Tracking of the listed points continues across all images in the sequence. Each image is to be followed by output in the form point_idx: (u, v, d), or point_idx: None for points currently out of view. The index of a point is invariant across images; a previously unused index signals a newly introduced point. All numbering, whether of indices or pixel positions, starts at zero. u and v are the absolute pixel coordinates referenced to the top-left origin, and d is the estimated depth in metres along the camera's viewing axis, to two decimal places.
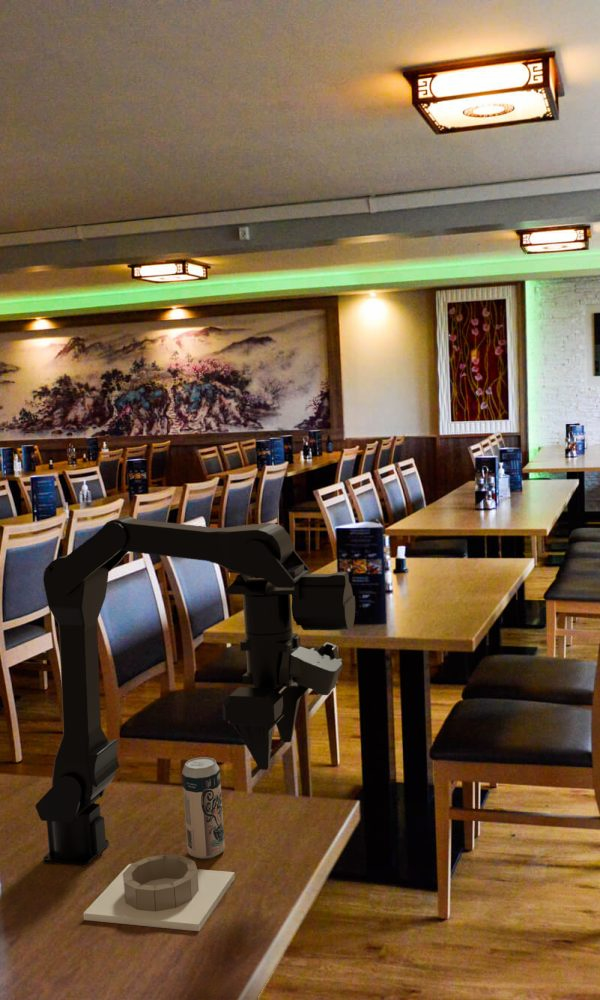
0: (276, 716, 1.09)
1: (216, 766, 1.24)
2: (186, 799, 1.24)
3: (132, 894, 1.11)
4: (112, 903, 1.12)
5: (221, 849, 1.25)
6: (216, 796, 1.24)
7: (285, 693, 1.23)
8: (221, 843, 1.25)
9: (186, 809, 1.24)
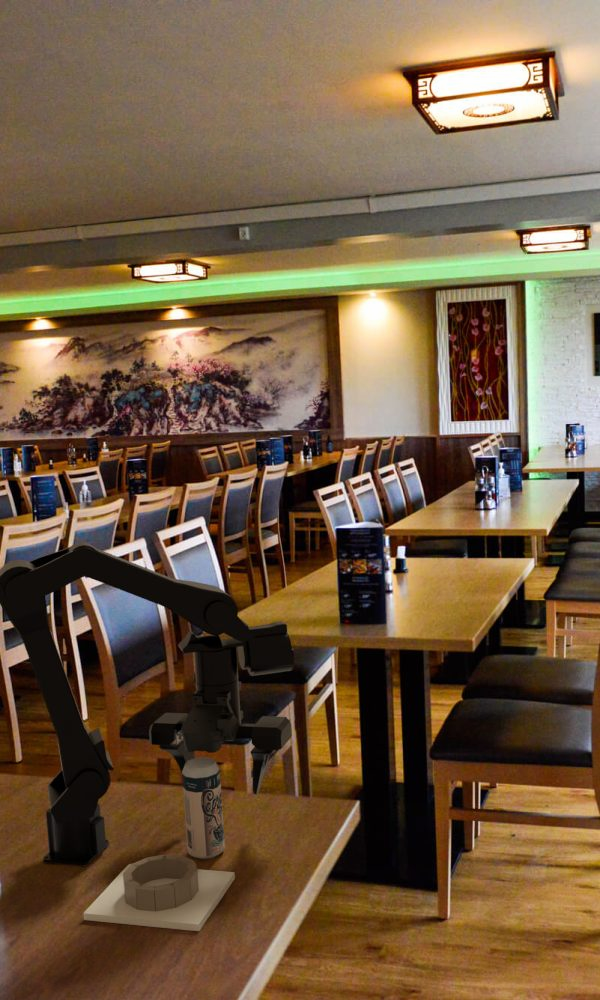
0: (156, 742, 1.31)
1: (216, 766, 1.24)
2: (186, 799, 1.24)
3: (132, 894, 1.11)
4: (112, 903, 1.12)
5: (221, 849, 1.25)
6: (216, 796, 1.24)
7: None
8: (221, 843, 1.25)
9: (186, 809, 1.24)
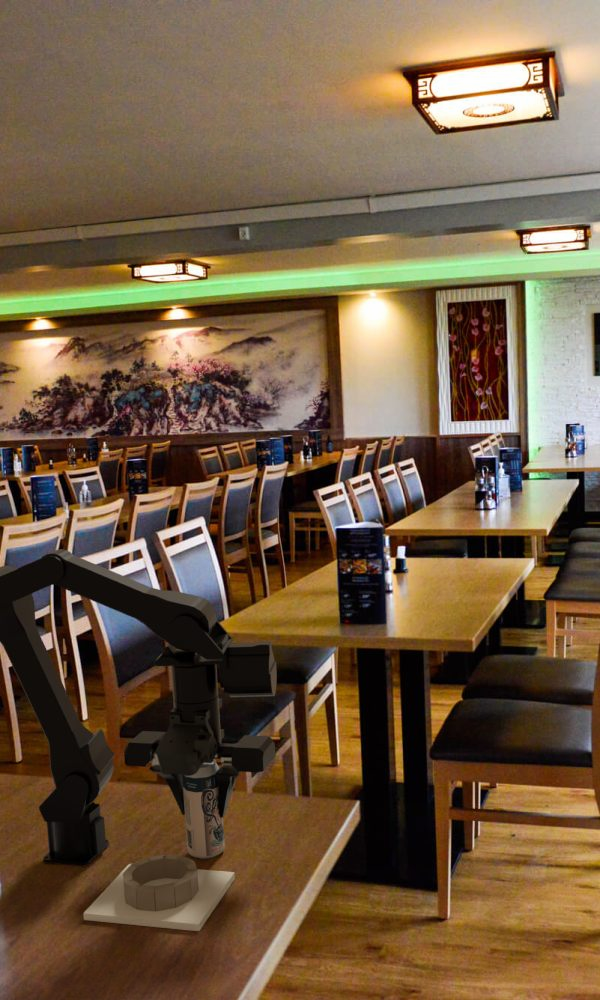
0: (131, 763, 1.24)
1: (216, 766, 1.24)
2: (186, 799, 1.24)
3: (132, 894, 1.11)
4: (112, 903, 1.12)
5: (221, 849, 1.25)
6: (216, 796, 1.24)
7: None
8: (221, 843, 1.25)
9: (186, 809, 1.24)
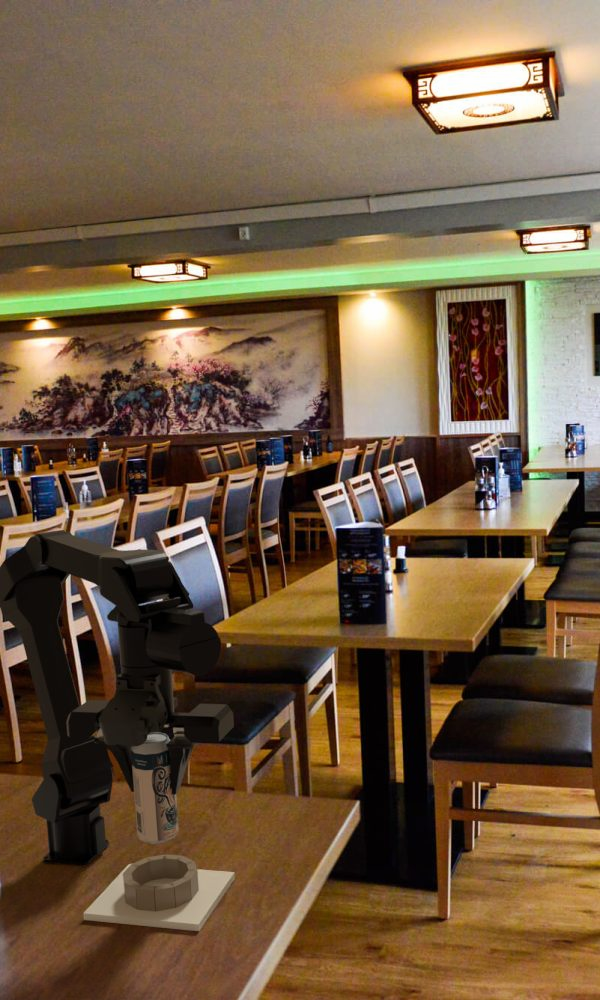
0: (74, 734, 1.12)
1: None
2: (135, 778, 1.12)
3: (132, 894, 1.11)
4: (112, 903, 1.12)
5: (174, 833, 1.13)
6: (169, 774, 1.12)
7: None
8: (174, 827, 1.13)
9: (135, 789, 1.12)
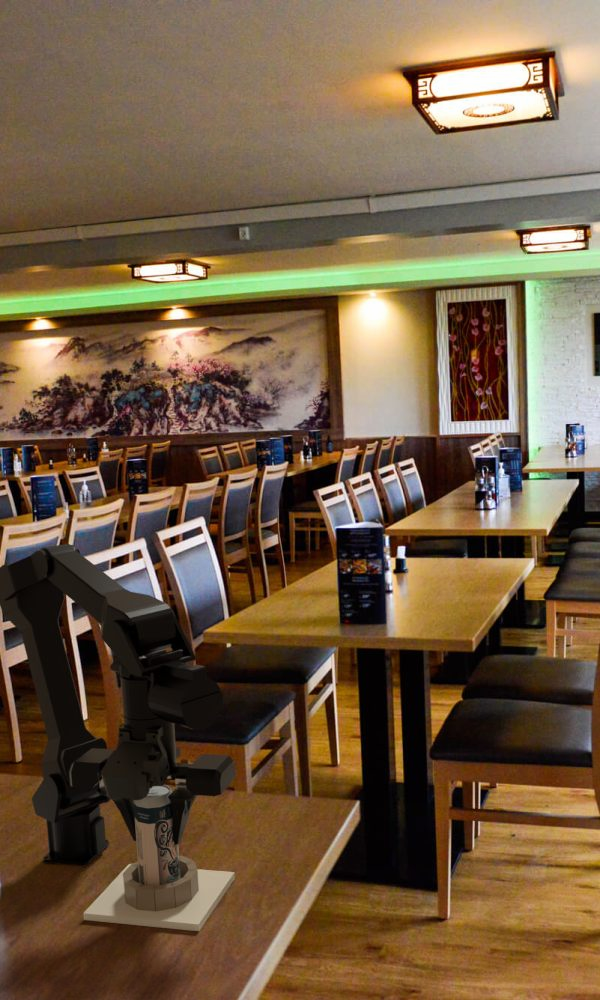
0: (77, 785, 1.12)
1: None
2: (138, 831, 1.12)
3: (132, 894, 1.11)
4: (112, 903, 1.12)
5: None
6: (171, 827, 1.13)
7: None
8: (176, 879, 1.13)
9: (138, 842, 1.13)
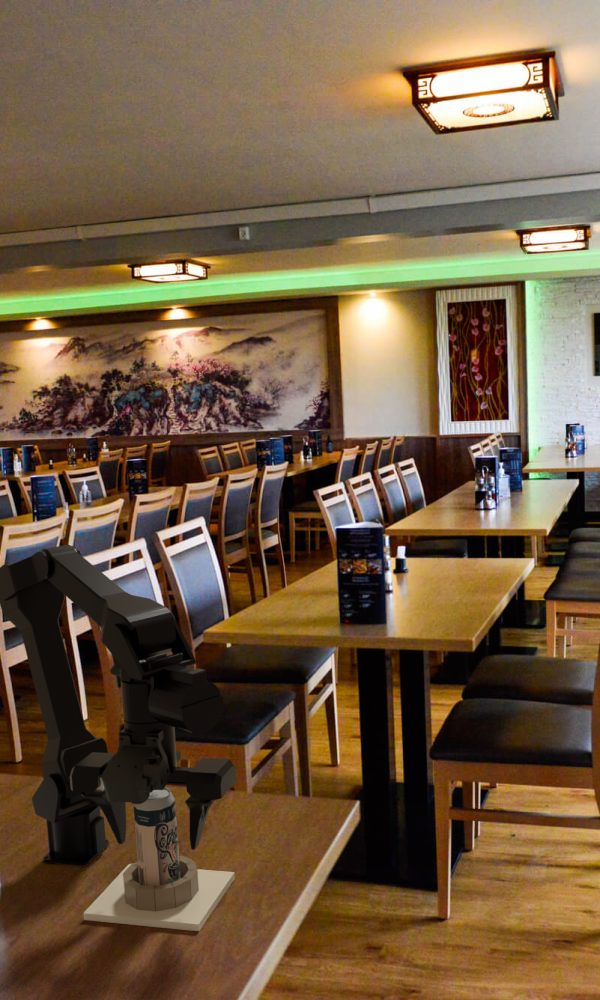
0: (78, 789, 1.12)
1: (171, 797, 1.13)
2: (138, 834, 1.12)
3: (132, 894, 1.11)
4: (112, 903, 1.12)
5: None
6: (171, 830, 1.13)
7: None
8: None
9: (138, 845, 1.13)
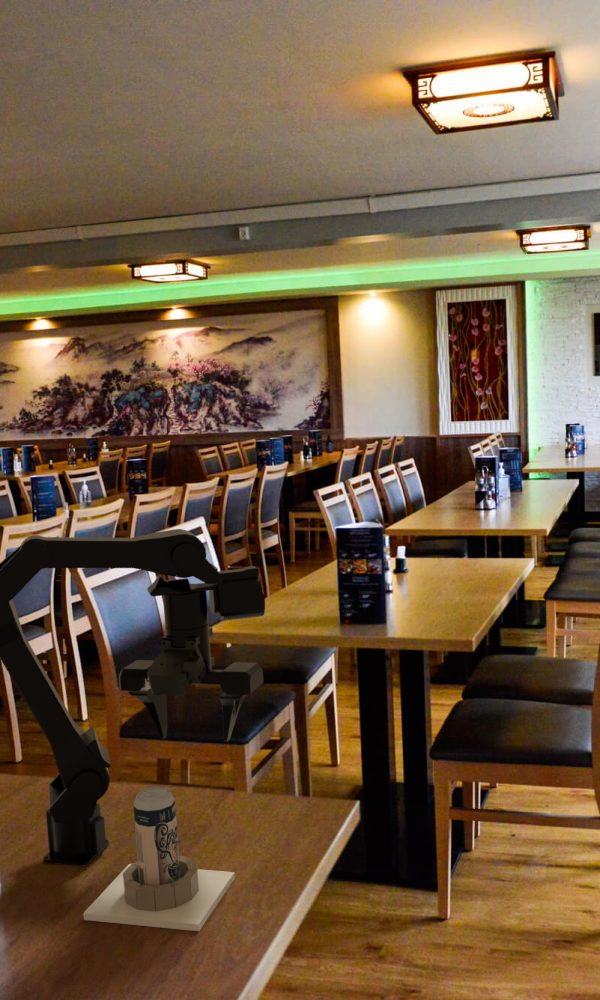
0: (125, 688, 1.29)
1: (171, 797, 1.13)
2: (138, 834, 1.12)
3: (132, 894, 1.11)
4: (112, 903, 1.12)
5: None
6: (171, 830, 1.13)
7: None
8: None
9: (138, 845, 1.13)
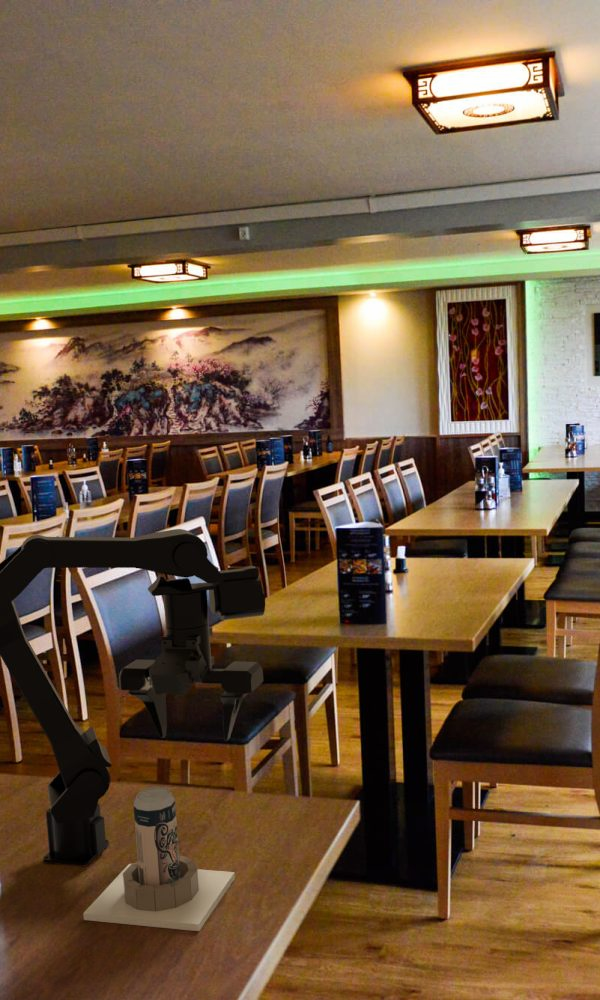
0: (126, 688, 1.29)
1: (171, 797, 1.13)
2: (138, 834, 1.12)
3: (132, 894, 1.11)
4: (112, 903, 1.12)
5: None
6: (171, 830, 1.13)
7: None
8: None
9: (138, 845, 1.13)
